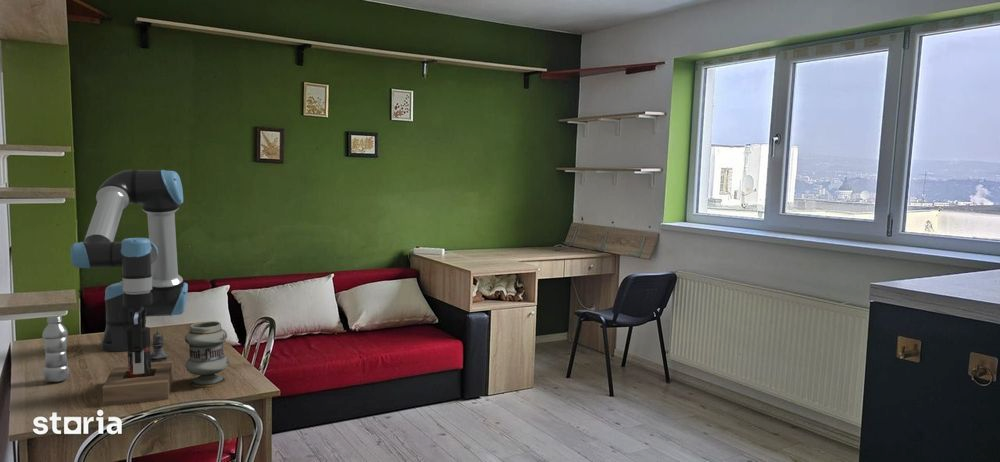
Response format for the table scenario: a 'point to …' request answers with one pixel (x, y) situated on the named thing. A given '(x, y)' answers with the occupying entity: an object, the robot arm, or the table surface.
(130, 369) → the deodorant
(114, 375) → the holder block
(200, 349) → the apothecary jar
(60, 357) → the plastic bottle
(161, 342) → the salt shaker
